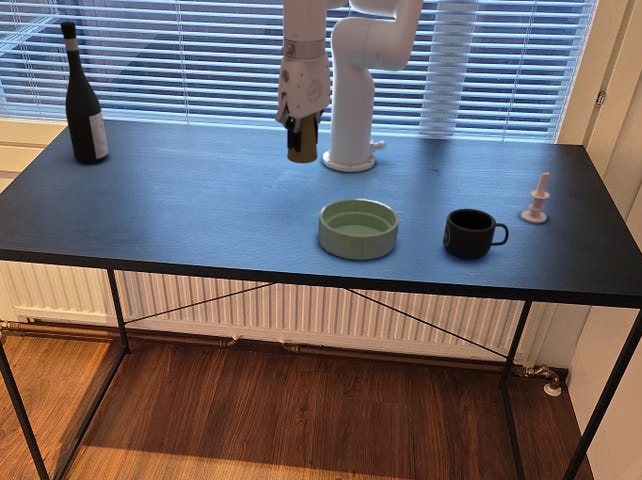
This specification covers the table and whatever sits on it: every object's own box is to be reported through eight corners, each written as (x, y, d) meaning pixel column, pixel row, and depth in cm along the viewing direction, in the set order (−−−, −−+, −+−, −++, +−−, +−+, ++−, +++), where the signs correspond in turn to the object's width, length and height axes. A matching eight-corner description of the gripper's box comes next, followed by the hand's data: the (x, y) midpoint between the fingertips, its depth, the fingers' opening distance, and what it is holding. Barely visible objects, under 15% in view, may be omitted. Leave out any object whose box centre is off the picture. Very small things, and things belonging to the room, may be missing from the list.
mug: (443, 263, 125) (450, 230, 120) (438, 239, 132) (444, 206, 127) (508, 266, 124) (517, 233, 120) (499, 242, 131) (507, 209, 127)
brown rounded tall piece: (321, 152, 133) (323, 97, 126) (312, 165, 129) (313, 108, 121) (292, 148, 134) (293, 93, 127) (282, 160, 130) (282, 104, 123)
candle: (515, 215, 140) (527, 168, 133) (532, 209, 142) (545, 163, 136) (533, 225, 137) (547, 178, 130) (551, 220, 139) (565, 172, 132)
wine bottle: (112, 152, 163) (90, 18, 144) (106, 165, 157) (82, 27, 138) (78, 152, 163) (52, 18, 143) (72, 165, 157) (43, 27, 137)
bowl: (366, 217, 139) (369, 192, 135) (411, 250, 129) (414, 224, 125) (304, 233, 133) (304, 208, 130) (345, 269, 123) (347, 243, 119)
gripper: (286, 62, 112) (286, 165, 124) (350, 41, 121) (344, 139, 133) (255, 53, 116) (258, 153, 128) (320, 33, 125) (317, 129, 137)
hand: (302, 145), depth 130 cm, fingers closed on brown rounded tall piece, 4 cm apart
